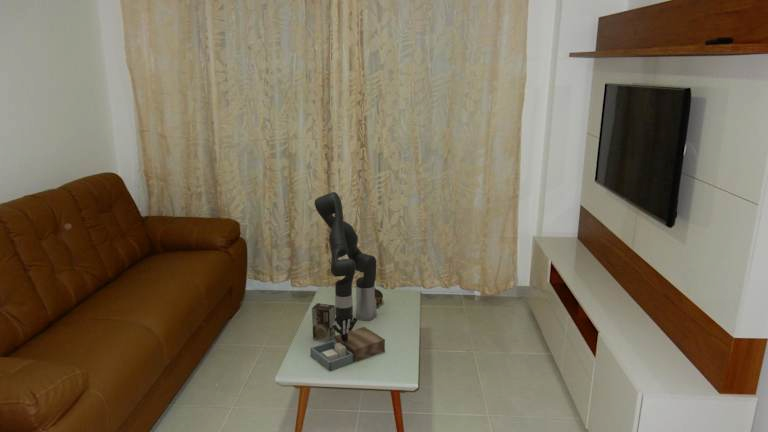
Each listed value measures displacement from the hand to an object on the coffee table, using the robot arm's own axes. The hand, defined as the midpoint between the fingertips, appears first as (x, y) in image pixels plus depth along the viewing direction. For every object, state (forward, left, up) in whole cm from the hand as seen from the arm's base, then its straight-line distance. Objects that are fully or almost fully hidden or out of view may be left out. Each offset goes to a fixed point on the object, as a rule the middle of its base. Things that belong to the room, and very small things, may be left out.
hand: (344, 340), depth 246 cm
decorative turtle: (-44, -39, -7) cm, 59 cm away
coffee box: (-1, -19, -7) cm, 20 cm away
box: (+7, 0, -7) cm, 9 cm away
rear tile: (+2, +1, -4) cm, 4 cm away
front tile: (+7, 0, -4) cm, 8 cm away
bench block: (-8, 0, -7) cm, 10 cm away
